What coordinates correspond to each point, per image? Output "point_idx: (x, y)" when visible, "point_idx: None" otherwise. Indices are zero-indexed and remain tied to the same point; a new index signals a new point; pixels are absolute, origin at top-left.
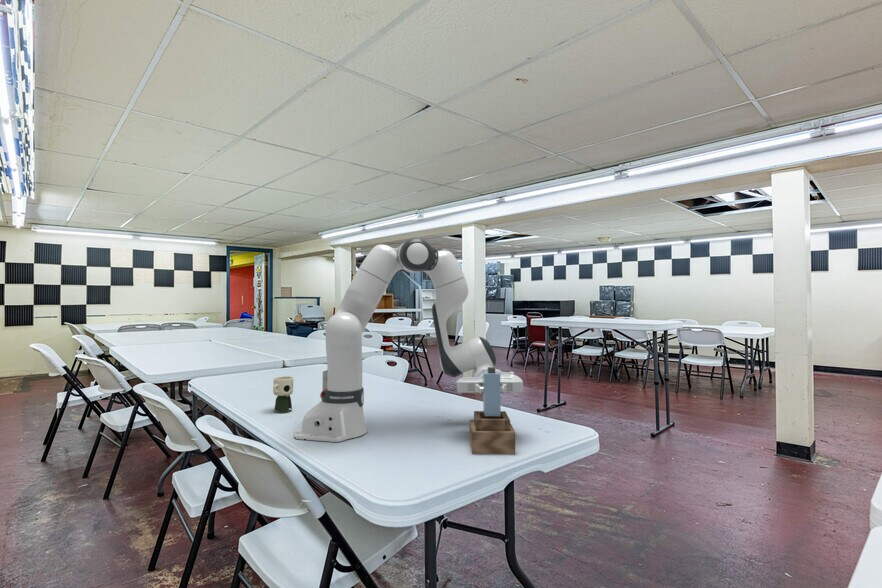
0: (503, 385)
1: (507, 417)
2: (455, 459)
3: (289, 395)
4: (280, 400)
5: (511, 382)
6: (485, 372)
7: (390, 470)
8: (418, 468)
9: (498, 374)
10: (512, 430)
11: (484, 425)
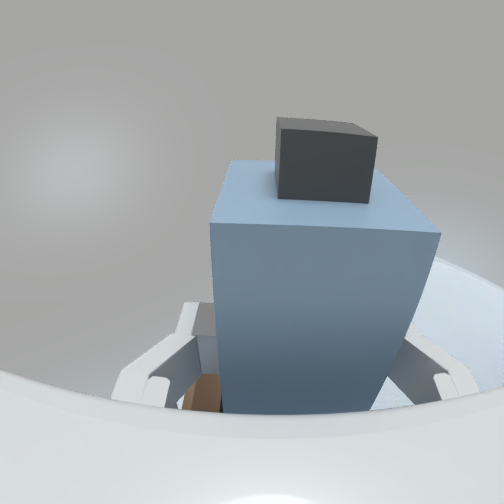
0: (169, 347)
1: (197, 404)
2: (384, 382)
3: None
4: None
5: (47, 385)
6: (391, 200)
7: (480, 321)
8: (443, 333)
9: (247, 163)
10: (191, 400)
11: None
